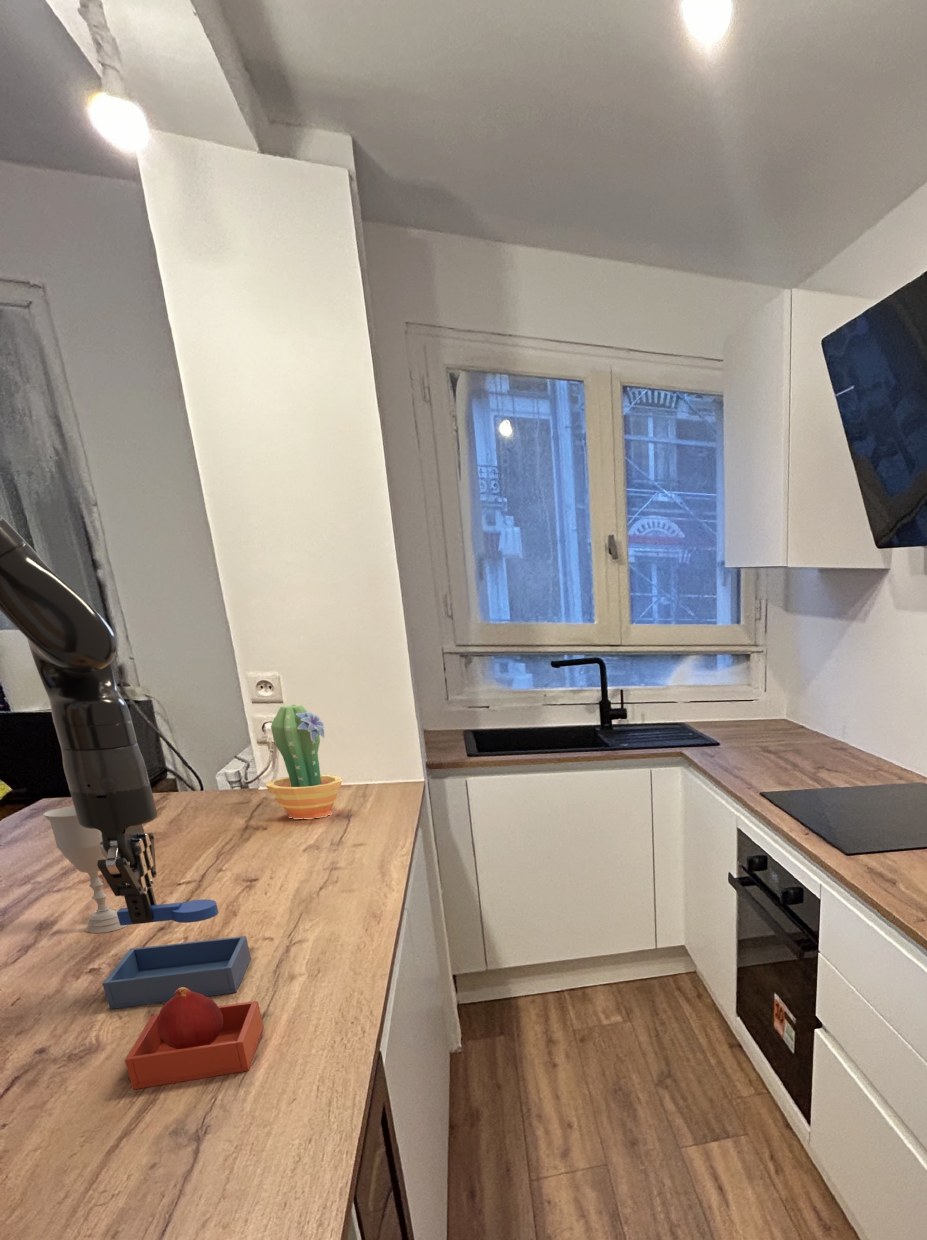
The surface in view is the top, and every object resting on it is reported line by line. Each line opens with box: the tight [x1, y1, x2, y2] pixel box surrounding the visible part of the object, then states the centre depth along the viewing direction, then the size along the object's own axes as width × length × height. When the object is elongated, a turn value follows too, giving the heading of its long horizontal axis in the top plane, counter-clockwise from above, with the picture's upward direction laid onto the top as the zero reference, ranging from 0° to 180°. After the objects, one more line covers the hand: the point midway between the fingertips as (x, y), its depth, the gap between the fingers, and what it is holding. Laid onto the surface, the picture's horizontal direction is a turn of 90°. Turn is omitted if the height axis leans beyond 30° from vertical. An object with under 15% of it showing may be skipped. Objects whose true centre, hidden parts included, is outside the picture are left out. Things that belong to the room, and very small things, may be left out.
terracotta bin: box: [124, 1000, 264, 1090], centre depth 89 cm, size 10×10×4 cm
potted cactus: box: [265, 704, 342, 819], centre depth 183 cm, size 15×15×25 cm
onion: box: [157, 987, 223, 1049], centre depth 88 cm, size 6×6×8 cm
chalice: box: [42, 806, 128, 934], centre depth 120 cm, size 7×7×18 cm
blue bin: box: [102, 935, 252, 1010], centre depth 105 cm, size 13×11×4 cm
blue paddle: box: [117, 898, 219, 926], centre depth 103 cm, size 10×5×2 cm, turn 113°
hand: (145, 919), depth 102 cm, fingers closed on blue paddle, 1 cm apart
